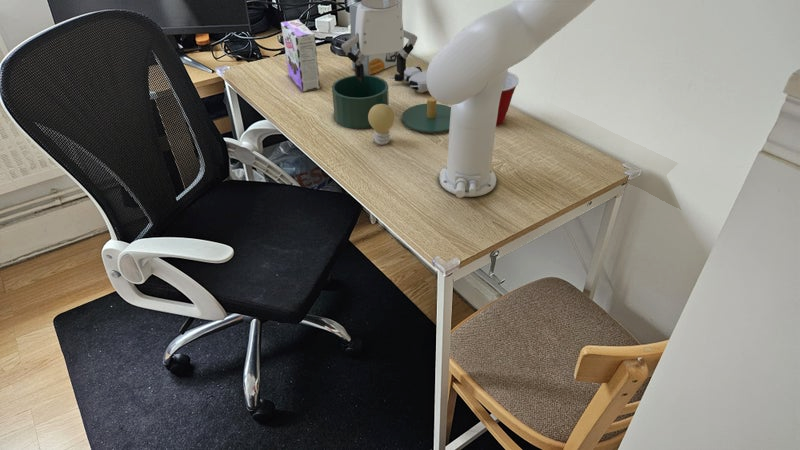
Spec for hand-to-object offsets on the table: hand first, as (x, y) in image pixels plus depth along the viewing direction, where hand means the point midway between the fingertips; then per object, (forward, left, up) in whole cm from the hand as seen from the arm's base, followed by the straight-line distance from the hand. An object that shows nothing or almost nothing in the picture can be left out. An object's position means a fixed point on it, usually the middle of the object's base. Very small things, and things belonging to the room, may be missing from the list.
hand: (380, 76), depth 119 cm
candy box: (+31, +30, -17) cm, 47 cm away
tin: (+12, +8, -17) cm, 23 cm away
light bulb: (-1, 0, -17) cm, 17 cm away
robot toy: (+33, -5, -17) cm, 38 cm away
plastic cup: (+14, -27, -17) cm, 35 cm away
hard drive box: (+46, +10, -17) cm, 51 cm away
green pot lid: (+13, -11, -16) cm, 23 cm away
